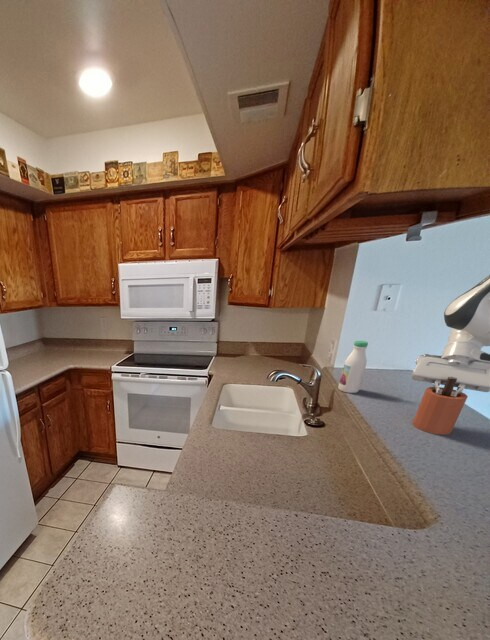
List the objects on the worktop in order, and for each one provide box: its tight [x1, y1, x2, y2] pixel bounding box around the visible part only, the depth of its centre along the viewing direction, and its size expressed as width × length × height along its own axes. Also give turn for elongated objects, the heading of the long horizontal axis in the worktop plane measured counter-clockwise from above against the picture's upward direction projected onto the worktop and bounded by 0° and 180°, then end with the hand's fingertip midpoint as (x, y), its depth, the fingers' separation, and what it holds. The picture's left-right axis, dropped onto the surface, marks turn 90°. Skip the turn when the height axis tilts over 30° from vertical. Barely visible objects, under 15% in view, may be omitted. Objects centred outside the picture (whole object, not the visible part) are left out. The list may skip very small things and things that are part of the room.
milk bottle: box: [337, 340, 369, 394], centre depth 132 cm, size 8×8×20 cm
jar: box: [412, 386, 468, 436], centre depth 104 cm, size 10×10×12 cm
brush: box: [441, 377, 457, 397], centre depth 102 cm, size 4×4×15 cm
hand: (444, 396), depth 101 cm, fingers closed on brush, 2 cm apart
